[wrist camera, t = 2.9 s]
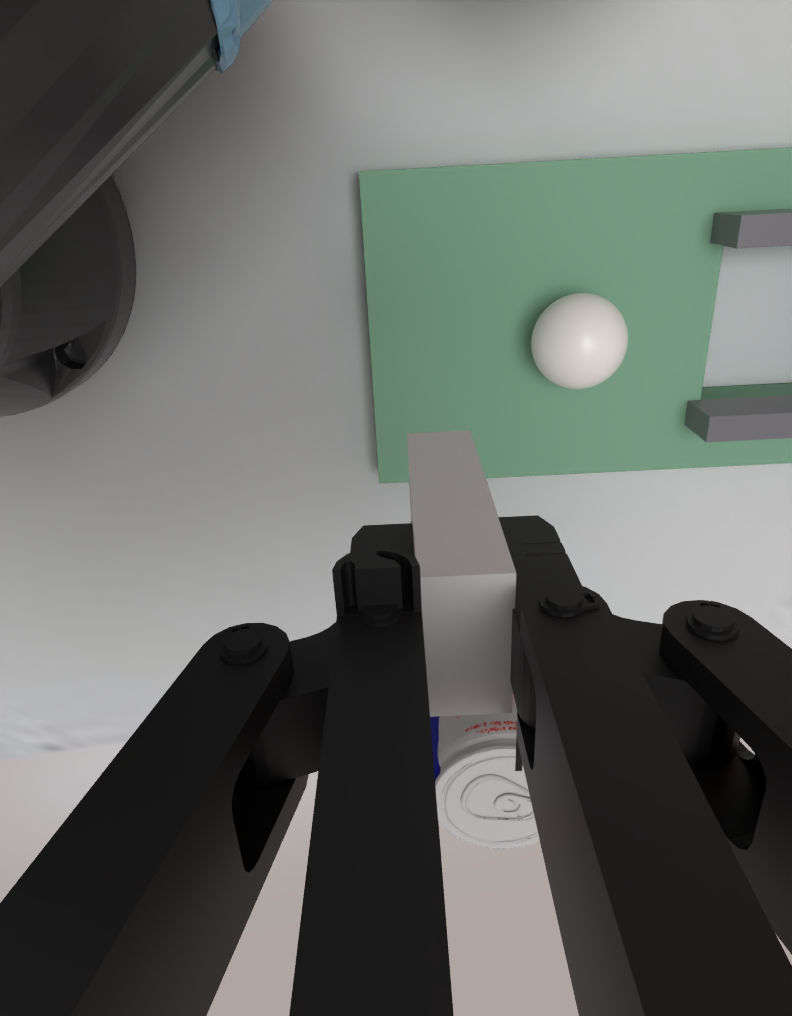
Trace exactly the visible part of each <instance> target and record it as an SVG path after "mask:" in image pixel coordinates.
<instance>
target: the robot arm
mask: <svg viewBox="0 0 792 1016" xmlns="http://www.w3.org/2000/svg"><path fill="white" fill-rule="evenodd" d="M272 2H273V0H0V417H2V416H8V415H14V414H18V413H22V412H26V411H30V410H33V409H36V408H38V407H41V406H43V405H46V404H48V403H50V402H52V401H54V400H56V399H58V398H60V397H61V396H63V395H64V394H66V393H67V392H69V391H70V390H72V389H74V388H75V387H77V386H78V385H80V384H81V383H83V382H84V381H86V380H87V379H88V378H89V377H91V376H92V375H93V374H94V373H95V372H96V371H97V370H98V369H99V368H100V367H101V366H102V365H103V364H104V363H105V362H106V360H107V359H108V358H109V356H110V355H111V354H112V352H113V351H114V349H115V348H116V346H117V344H118V343H119V341H120V339H121V337H122V334H123V332H124V330H125V327H126V325H127V322H128V319H129V316H130V312H131V308H132V303H133V299H134V291H135V276H136V270H135V253H134V245H133V239H132V233H131V229H130V225H129V221H128V218H127V214H126V211H125V208H124V205H123V202H122V200H121V197H120V195H119V192H118V190H117V188H116V186H115V183H114V181H113V179H112V177H111V174H112V173H113V172H114V171H115V170H116V169H117V168H118V167H119V166H120V165H121V164H122V163H123V162H124V161H125V160H126V159H127V158H128V157H129V156H130V155H131V154H132V153H133V152H134V151H135V150H136V149H137V148H138V147H139V146H140V145H141V144H142V143H143V142H144V141H145V140H146V139H147V138H148V137H149V136H150V135H151V134H152V133H153V132H154V131H155V130H156V129H157V128H158V127H159V126H160V125H161V124H162V123H163V122H164V121H165V119H166V118H167V117H168V116H169V115H170V114H171V113H172V112H173V111H174V110H175V109H176V108H177V107H178V106H179V105H180V104H181V103H182V102H183V101H184V100H185V99H186V98H187V97H188V96H189V95H190V94H191V93H192V92H193V91H194V90H195V89H196V88H197V87H198V86H199V85H200V84H201V83H202V82H203V81H204V80H205V79H206V78H207V77H208V76H209V75H210V74H211V73H212V72H213V71H214V70H217V71H218V72H220V73H221V74H222V73H223V72H224V71H225V70H226V69H227V68H228V67H229V66H230V65H231V64H232V63H233V62H234V61H235V59H236V57H237V55H238V52H239V50H240V38H241V37H242V36H243V35H244V34H245V32H246V31H247V30H248V29H249V28H250V27H251V26H252V24H253V23H254V22H255V21H256V20H257V19H258V18H259V16H260V15H261V14H262V13H263V12H264V11H265V10H266V8H267V7H268V6H269V5H270V4H271V3H272ZM407 441H408V463H409V486H410V508H411V523H409V524H388V525H367V526H363V527H362V528H361V529H360V530H359V531H358V532H357V533H356V534H355V535H354V536H353V538H352V542H351V551H350V553H349V554H347V555H345V556H344V557H342V558H341V559H340V560H338V561H337V562H336V564H335V566H334V568H333V570H332V572H333V582H334V592H335V601H336V611H337V620H336V622H335V623H334V624H333V625H332V626H330V627H329V628H328V629H326V630H324V631H322V632H320V633H318V634H315V635H312V636H309V637H306V638H302V639H298V640H294V641H291V642H289V639H288V637H287V634H286V633H285V632H284V631H282V630H281V629H279V628H278V627H277V626H273V625H269V624H265V623H245V624H240V625H236V626H233V627H229V628H227V629H225V630H223V631H221V632H219V633H217V634H215V635H214V636H212V637H211V638H210V639H209V640H208V641H207V642H206V643H205V644H203V646H202V647H201V648H200V650H199V651H198V652H197V653H196V655H195V656H194V657H193V658H192V660H191V661H190V662H189V664H188V665H187V666H186V667H185V669H184V670H183V671H182V672H181V674H180V675H179V676H178V678H177V679H176V680H175V681H174V683H173V684H172V685H171V686H170V688H169V689H168V690H167V692H166V693H165V694H164V695H163V697H162V698H161V699H160V701H159V702H158V703H157V704H156V706H155V707H154V708H153V709H152V711H151V712H150V713H149V715H148V716H147V717H146V718H145V720H144V721H143V722H142V723H141V725H140V726H139V727H138V729H137V730H136V731H135V732H134V734H133V735H132V736H131V737H130V739H129V740H128V741H127V743H126V744H125V745H124V747H123V748H122V749H121V750H120V751H119V753H118V754H117V755H116V757H115V758H114V759H113V761H112V762H111V763H110V764H109V765H108V767H107V768H106V769H105V771H104V772H103V773H102V774H101V776H100V777H99V778H98V779H97V781H96V782H95V783H94V785H93V786H92V787H91V788H90V790H89V791H88V792H87V793H86V795H85V796H84V797H83V799H82V800H81V801H80V802H79V804H78V805H77V806H76V807H75V809H74V810H73V811H72V813H71V814H70V815H69V817H68V818H67V819H66V820H65V822H64V823H63V824H62V825H61V827H60V828H59V829H58V830H57V832H56V833H55V834H54V835H53V837H52V838H51V839H50V841H49V842H48V843H47V844H46V846H45V847H44V848H43V850H42V851H41V852H40V853H39V855H38V856H37V857H36V858H35V860H34V861H33V862H32V863H31V865H30V866H29V867H28V869H27V870H26V871H25V873H24V874H23V875H22V876H21V877H20V879H19V880H18V881H17V883H16V884H15V885H14V886H13V888H12V889H11V890H10V891H9V893H8V894H7V895H6V897H5V898H4V899H3V901H2V902H1V903H0V1016H206V1015H207V1013H208V1010H209V1008H210V1006H211V1004H212V1001H213V999H214V997H215V994H216V992H217V990H218V988H219V985H220V983H221V981H222V978H223V976H224V974H225V971H226V969H227V967H228V964H229V962H230V960H231V958H232V955H233V953H234V951H235V949H236V946H237V944H238V942H239V939H240V937H241V935H242V932H243V930H244V928H245V925H246V923H247V921H248V919H249V916H250V914H251V912H252V909H253V907H254V905H255V903H256V900H257V898H258V896H259V893H260V891H261V889H262V887H263V884H264V882H265V880H266V877H267V875H268V873H269V871H270V868H271V866H272V863H273V861H274V859H275V857H276V854H277V852H278V850H279V848H280V845H281V843H282V841H283V838H284V836H285V834H286V832H287V829H288V827H289V825H290V822H291V820H292V818H293V815H294V813H295V811H296V809H297V806H298V804H299V801H300V799H301V797H302V795H303V792H304V790H305V788H306V785H307V779H308V774H310V773H313V772H317V771H319V772H318V780H317V789H316V797H315V806H314V814H313V822H312V831H311V839H310V847H309V856H308V864H307V872H306V881H305V889H304V898H303V906H302V915H301V923H300V932H299V939H298V948H297V956H296V965H295V974H294V981H293V990H292V999H291V1007H290V1015H289V1016H453V1004H452V992H451V979H450V966H449V954H448V940H447V928H446V916H445V904H444V903H445V902H444V889H443V876H442V864H441V851H440V839H439V827H438V826H439V825H438V812H437V799H436V787H435V774H434V761H433V748H432V735H431V723H430V717H435V716H458V715H481V714H504V713H512V696H513V695H514V699H515V703H516V707H517V733H516V762H515V771H522V766H523V768H524V772H525V776H526V781H527V785H528V790H529V794H530V799H531V803H532V808H533V812H534V817H535V821H536V826H537V830H538V834H539V839H540V843H541V848H542V852H543V856H544V861H545V865H546V870H547V875H548V879H549V884H550V888H551V892H552V897H553V901H554V905H555V910H556V915H557V919H558V924H559V927H560V933H561V937H562V941H563V946H564V950H565V955H566V959H567V963H568V968H569V973H570V977H571V981H572V986H573V990H574V995H575V999H576V1004H577V1008H578V1013H579V1016H792V965H791V964H790V962H789V960H788V958H787V956H786V954H785V952H784V950H783V948H782V946H781V944H780V942H779V940H778V938H777V936H778V937H779V939H780V940H781V941H782V942H783V944H784V945H785V946H786V948H787V949H788V950H789V952H790V953H791V954H792V649H791V648H790V647H789V646H787V645H786V644H785V643H783V642H782V641H781V640H780V639H778V638H777V637H776V636H774V635H773V634H772V633H771V632H769V631H768V630H767V629H766V628H764V627H763V626H762V625H760V624H759V623H758V622H757V621H755V620H754V619H753V618H751V617H750V616H748V615H746V614H745V613H743V612H741V611H740V610H738V609H736V608H733V607H730V606H727V605H724V604H721V603H719V602H713V601H704V600H696V601H683V602H680V603H678V604H675V605H672V606H670V608H669V609H668V610H667V611H666V612H665V613H664V616H663V623H662V624H656V623H649V622H642V621H635V620H631V619H626V618H621V617H619V616H616V615H613V614H612V613H611V611H610V609H609V607H608V605H607V603H606V602H605V601H604V600H603V598H602V597H601V596H600V595H599V594H597V593H596V592H594V591H592V590H590V589H588V588H586V587H583V586H582V585H581V583H580V581H579V579H578V576H577V574H576V572H575V570H574V568H573V566H572V564H571V562H570V560H569V558H568V555H567V554H566V553H565V549H564V547H563V545H562V543H560V539H559V537H558V534H557V532H556V530H555V528H554V527H553V526H552V525H551V524H549V523H548V522H546V521H545V520H544V519H542V518H541V517H539V516H518V517H498V515H497V512H496V509H495V506H494V503H493V499H492V496H491V493H490V490H489V487H488V484H487V481H486V478H485V475H484V472H483V469H482V465H481V462H480V459H479V456H478V453H477V450H476V447H475V444H474V441H473V438H472V435H471V431H470V430H466V431H446V432H426V433H407ZM740 737H741V738H742V739H743V740H744V741H745V742H746V743H747V744H748V745H749V746H750V747H751V749H752V750H753V751H754V752H755V755H754V754H753V753H751V752H750V751H749V750H748V749H747V748H746V747H745V746H744V745H743V744H742V743H741V742H740ZM775 933H776V934H775ZM776 935H777V936H776Z"/></svg>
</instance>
